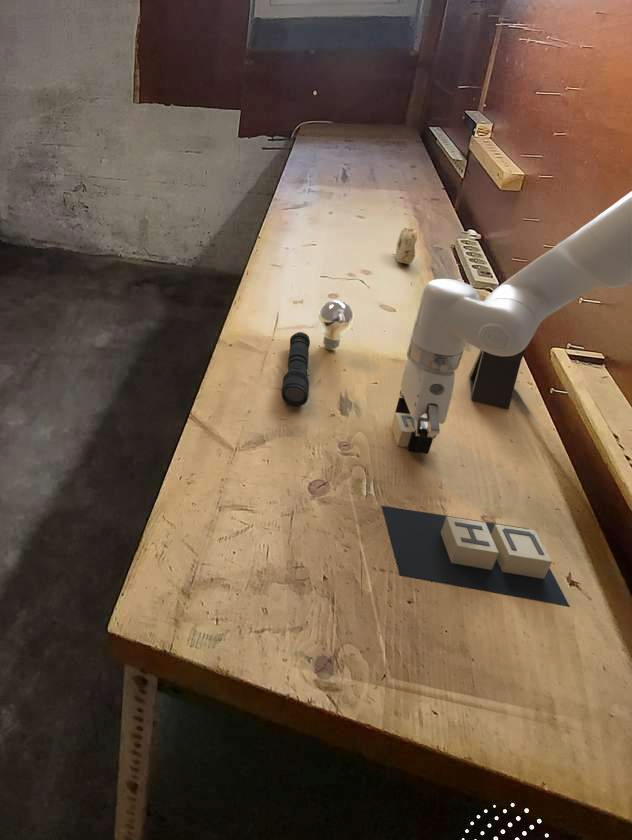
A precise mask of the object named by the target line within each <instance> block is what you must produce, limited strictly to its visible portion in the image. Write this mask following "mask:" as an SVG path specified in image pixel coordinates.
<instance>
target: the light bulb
mask: <svg viewBox="0 0 632 840" xmlns="http://www.w3.org/2000/svg"><path fill="white" fill-rule="evenodd" d="M319 309H320V310H319V313H318V319H319V323H320V325H321V327H322V329H323V341H322V344H323V345H324V346H325V348H326V349H327V350H330V351H333V350H334V349H337V348H339V346H340V342H341V339H342V338H343V335H344V334H345V332H346V331H347V330H349V329H350V328H351V327H352V325H353V322H354V318H355V315H354V311H353V309H352V308H351V306H350V304H348V303H347V302H345V301H343V300H339V299H334V300H333V299H332V300H329V301H327V302H325V303H324V304H323V305H322V306H321V308H319Z"/></svg>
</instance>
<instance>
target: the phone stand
mask: <svg viewBox="0 0 632 840" xmlns="http://www.w3.org/2000/svg"><path fill="white" fill-rule="evenodd" d="M525 352H526V348H525V349H524V350H523V351H522V352H520V353H518V354H516V355H513V356H497V355H493V354H490V353H487V352H485V351H483V350H481V349H479V353H478V354H477V357H476V359H475V361H474V364H473V365H472V368H471V370H470V373H469V387H470V388H469V389H470V401H474V402H478V403H482V404H486V405H491V406H495V407H498V408H502V409H506V410H509V408H510V404H511V401H512V397H513V394H514V389H515V386H516V382H517V378H518V374H519V371H520V367H521V363H522V360H523V358H524V355H525Z"/></svg>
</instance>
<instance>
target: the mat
mask: <svg viewBox="0 0 632 840" xmlns="http://www.w3.org/2000/svg"><path fill="white" fill-rule="evenodd" d="M380 507H381V510H382V513H383V518H384V522H385V525H386V529H387V530H386V531H387V533H388V536H389V541H390V544H391V548H392V553H393V556H394V560H395V563H396V567H397V572H398V575H399V576H400V577H405V578H410V579H415V580H420V581H427V582H432V583H438V584H442V585H443V584H444V585H449V586H453V587H459V588H464V589H469V590H476V591H482V592H487V593H493V594H498V595H503V596H508V597H509V596H510V597H513V598H514V597H515V598H519V599H525V600H529V601H531V600H532V601H536V602H541V603H548V604H553V605H559V606H563V607H568V608H570V603H569V602H568V600H567V598H566V596H565V594H564V592H563V591H562V588H561V587H560V584H559V582H558V581H557V579H556V577H555V575H554V574H553V572H552V570H551V567H550V568H549V570H548V572H547V574H546V576H545V578H544V579H541V578H535V577H530V576H524V575H518V574H512V573H507V572H502V571H501V568H500V566H499V564H498V561H497V559H496V561H495V563H494V566H493V568H492V570H489V569H484V568H478V567H472V566H466V565H461V564H455V563H451V561H450V558H449V555H448V552H447V549H446V547H445V544H444V541H443V538H442V536H441V530H442V527H443V524H444V522H445V519H446V516H447V517H452V516H451V515H444V514H438V513H432V512H425V511H419V510H413V509H406V508H400V507H395V506H388V505H381V506H380ZM453 517H454V518H460V519H466V520H471V519H470V518H463V517H457V516H453ZM472 520H473V521H479V522H485V523H486V525H487V527H488V530H489V532H490V534H491V533H492V531H493V528H494V526H495V524H498V525H504V526H510V527H517V528H523V529H529V528H527V527H521V526H513V525H508V524H502V523H496V522H488V521H482V520H475V519H472Z"/></svg>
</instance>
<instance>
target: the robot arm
mask: <svg viewBox="0 0 632 840" xmlns="http://www.w3.org/2000/svg"><path fill="white" fill-rule="evenodd" d="M630 284H632V190H631V191H630V192H628V193H627V194H625V195H624V196H623V197H622V198H620V199H619V200H617V201H616V202H615V203H614V204H612V205H611V206H609V207H608V208H607V209H605V210H604V211H603V212H601V213H600V214H598V215H597V216H596V217H594V218H593V219H592V220H590V221H589V222H588V223H586V224H585V225H583V226H582V227H580V228H579V229H578V230H576V231H575V232H573V233H572V234H571V235H569V236H568V237H566V239H564V240H562V241H560V242H559V243H557V244H556V245H555V246H554V247H553V248H551V249H549V250H547V252H544V254H542V255H540V256H539V257H537V258H536V259H534V260H533V261H532V262H530V263H528V264H527V265H526V266H524V267H523V268H522V269H520V270H519V271H518V272H516V273H515V274H514V275H512V276H511V277H509V278H508V279H507V280H505V281H504V282H503V283H501V284H500V285H498V286H497V287H496V288H495V289H494V290H493V291H492V292H491V293H490V294H489V295H487V297H486V298H485V299H484V300H482V299H480V296H479V295H480V294H479V292H478V291H477V290H476V289H475V288H474V287H473V286H472V285H470V284H468V283H466V282H463V281H461V280H458V279H452V278H435V279H432V280H430V281H428V282H427V283H426V284H425V285H424V287H423V289H422V291H421V292H422V293H421V296H420V301H419V304H418V307H417V312H416V316H415V320H414V324H413V327H412V331H411V334H410V339H409V342H408V345H407V349H406V357H407V359H406V363H405V366H404V368H403V372H402V376H401V381H400V389H401V390H399V397H398V401H397V405H396V408H395V412H396V413H405V414H411V416H412V417H413V418H414V419H415V432H412V433H411V436H410V440H409V443H408V447H406V449H407V451H408V452H410V453H416V454H424V455H427V454H430V451H431V447H432V443H433V441H434V440H435V438H436V437H437V436H438V435H439V434H440V424H441V425H443V424H444V423H445V422H446V420H447V417H448V413H449V409H450V405H451V401H452V397H453V392H454V386H455V385H454V384H455V377H456V376H455V375H456V374H455V372H456V371H457V370H458V369H459V366H460V363H461V360H462V356H463V353H464V350H465V347H466V344H467V343H468V344H470V345H471V346H473V347H475V348H477V349H479V350H483V351H485V352H487V353H490V354H493V355H497V356H513V355H516V354H518V353H520V352H522V351H523V350H524V349H525V350H526V348H527V347H528V345H529V344H530V342H531V341H532V339H533V337H534V335H535V334H536V332H537V330H538V328H539V326H540V325H541V324H542V322H543V321H544V320H545V319H546V318H548V317H550V316H551V315H552V314H554V313H556V312H557V311H559V310H560V309H562V308H563V307H565V306H566V305H568V304H569V303H572V302H573V301H574V300H576V299H578V298H580V297H582V296H584V295H585V294H588V293H590V292H592V291H595V290H598V289H599V290H600V289H611V290H613V289H614V290H615V289H616V290H617V289H620V288H624V287H626V286H629V285H630ZM395 412H394V413H395ZM424 415H426V418H424V417H421V416H424ZM421 421H424V422H428V427H427V429H420V428H421Z"/></svg>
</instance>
